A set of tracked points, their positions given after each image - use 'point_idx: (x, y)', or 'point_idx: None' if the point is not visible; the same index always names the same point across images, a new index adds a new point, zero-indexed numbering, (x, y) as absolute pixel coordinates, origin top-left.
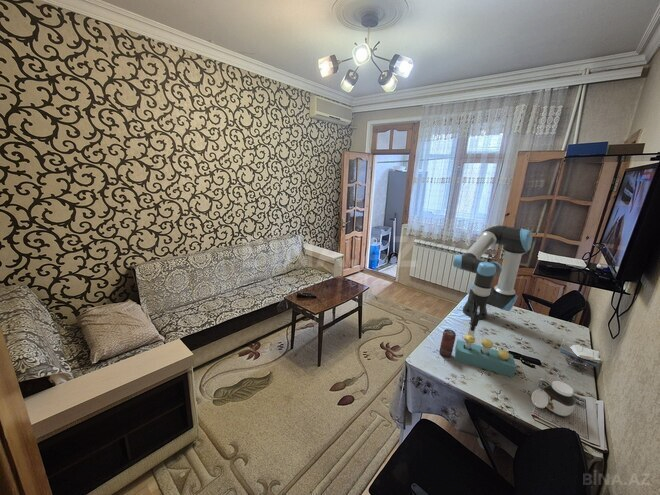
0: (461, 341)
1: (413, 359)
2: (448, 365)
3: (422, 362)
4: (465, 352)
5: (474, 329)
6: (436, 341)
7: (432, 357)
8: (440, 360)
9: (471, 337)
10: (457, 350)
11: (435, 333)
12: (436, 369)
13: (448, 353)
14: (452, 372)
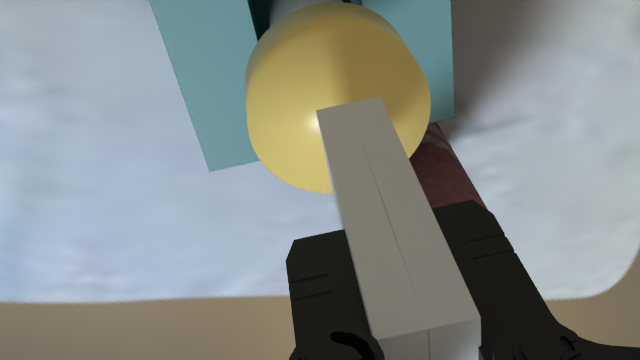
0: (212, 122)
1: (582, 288)
2: (537, 83)
3: (590, 239)
4: (448, 26)
5: (428, 215)
6: (226, 255)
7: (490, 210)
8: (498, 153)
9: (339, 98)
10: (453, 113)
11: (97, 298)
12: (635, 144)
13: (451, 149)
14: (625, 29)
